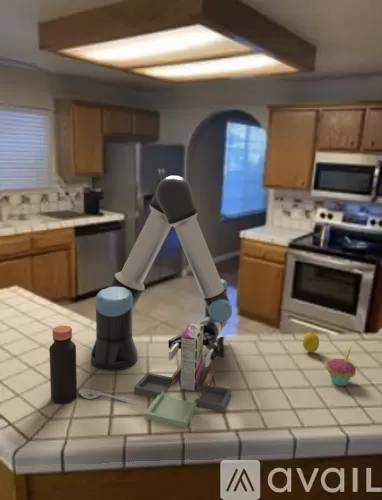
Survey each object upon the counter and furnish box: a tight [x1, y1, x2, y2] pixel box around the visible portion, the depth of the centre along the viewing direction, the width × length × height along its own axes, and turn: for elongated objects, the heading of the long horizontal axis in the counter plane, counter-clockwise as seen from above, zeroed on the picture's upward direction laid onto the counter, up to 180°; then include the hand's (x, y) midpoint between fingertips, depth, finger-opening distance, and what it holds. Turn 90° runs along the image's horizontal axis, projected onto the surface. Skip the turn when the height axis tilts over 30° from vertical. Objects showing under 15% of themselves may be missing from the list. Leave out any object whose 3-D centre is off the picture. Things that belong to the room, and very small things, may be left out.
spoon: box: [78, 388, 140, 405], centre depth 109 cm, size 4×21×2 cm, turn 78°
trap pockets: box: [133, 372, 232, 414], centre depth 112 cm, size 26×9×2 cm, turn 72°
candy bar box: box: [179, 322, 204, 392], centre depth 118 cm, size 11×5×16 cm, turn 168°
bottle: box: [48, 325, 78, 405], centre depth 107 cm, size 7×7×20 cm
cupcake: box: [325, 346, 357, 386], centre depth 121 cm, size 9×8×12 cm
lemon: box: [302, 331, 320, 354], centre depth 141 cm, size 6×6×8 cm
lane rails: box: [171, 364, 215, 391], centre depth 121 cm, size 11×10×2 cm
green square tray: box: [144, 392, 198, 429], centre depth 104 cm, size 11×11×2 cm
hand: (187, 359), depth 114 cm, fingers open, 10 cm apart
